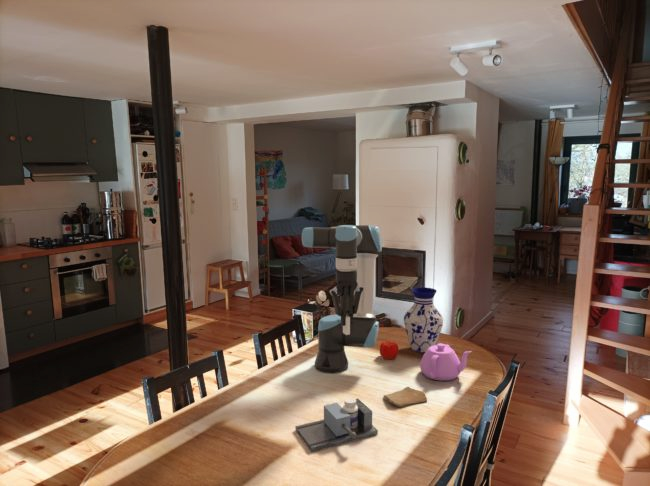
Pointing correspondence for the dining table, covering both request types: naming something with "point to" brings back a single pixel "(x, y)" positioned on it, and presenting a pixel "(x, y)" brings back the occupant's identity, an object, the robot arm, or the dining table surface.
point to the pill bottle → (351, 411)
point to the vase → (423, 320)
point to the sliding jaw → (338, 420)
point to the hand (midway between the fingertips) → (346, 333)
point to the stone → (406, 397)
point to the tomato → (389, 350)
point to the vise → (323, 437)
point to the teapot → (442, 363)
